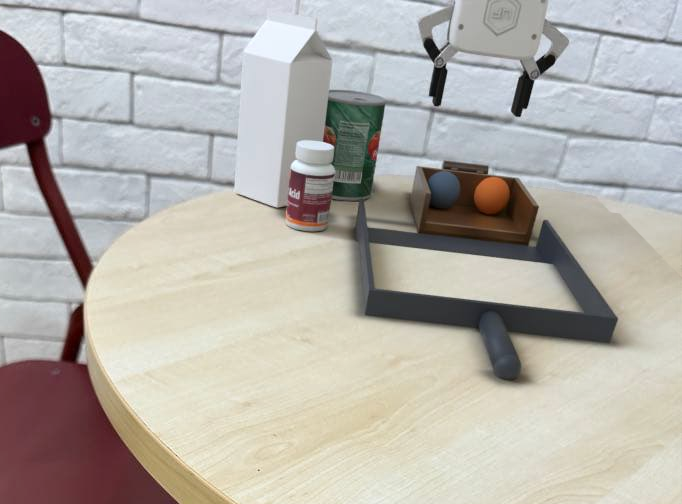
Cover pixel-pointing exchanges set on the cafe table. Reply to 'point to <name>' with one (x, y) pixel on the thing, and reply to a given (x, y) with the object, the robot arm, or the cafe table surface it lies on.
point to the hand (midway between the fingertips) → (475, 109)
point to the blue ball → (443, 189)
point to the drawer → (473, 208)
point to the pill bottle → (310, 186)
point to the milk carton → (279, 103)
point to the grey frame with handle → (483, 314)
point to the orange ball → (491, 195)
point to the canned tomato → (353, 141)
